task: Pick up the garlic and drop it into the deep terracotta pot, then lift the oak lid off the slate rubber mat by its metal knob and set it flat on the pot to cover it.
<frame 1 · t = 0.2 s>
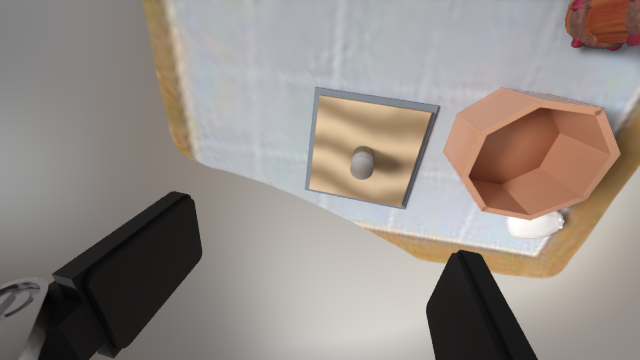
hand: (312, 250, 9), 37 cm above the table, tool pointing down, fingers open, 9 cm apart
mat: (363, 152, 45), on the table
bowl: (499, 141, 40), on the table
lid: (363, 153, 45), resting on mat
garlic: (528, 215, 45), on the table
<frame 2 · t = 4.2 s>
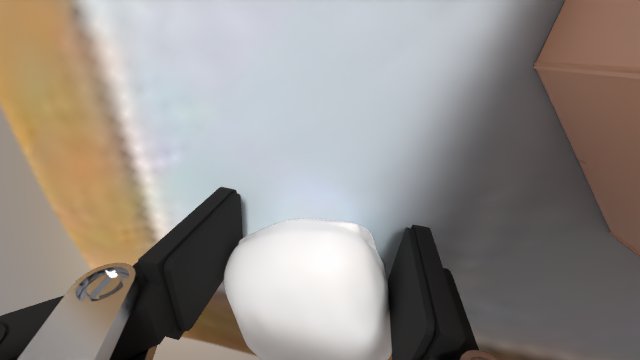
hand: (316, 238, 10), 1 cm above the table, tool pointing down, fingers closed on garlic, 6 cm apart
garlic: (323, 272, 12), on the table, touching gripper
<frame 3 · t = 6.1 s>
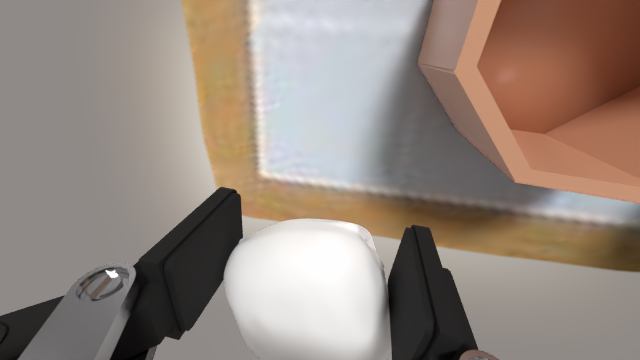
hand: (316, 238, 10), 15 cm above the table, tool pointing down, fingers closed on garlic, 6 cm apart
bowl: (545, 26, 17), on the table
garlic: (323, 272, 12), point 14 cm above the table, touching gripper
when the fingers open (11 cm above the table, at t = 8.2 s): garlic drops 4 cm, resting on bowl.
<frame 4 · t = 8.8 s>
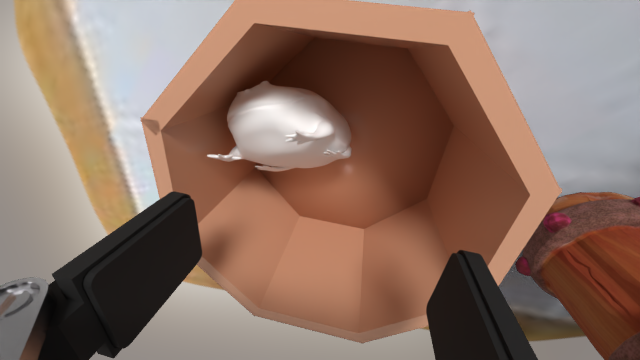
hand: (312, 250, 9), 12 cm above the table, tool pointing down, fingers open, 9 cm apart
bowl: (344, 145, 19), on the table
mug: (609, 214, 18), on the table
garlic: (291, 164, 15), point 6 cm above the table, touching bowl
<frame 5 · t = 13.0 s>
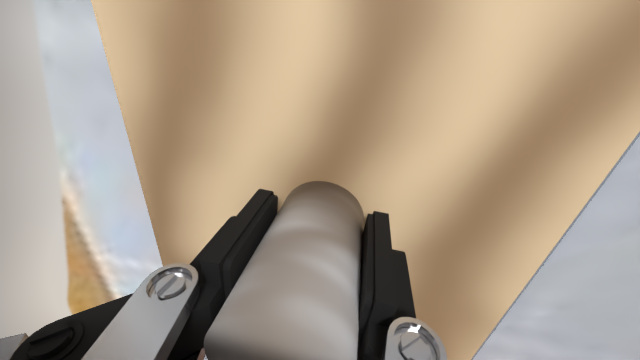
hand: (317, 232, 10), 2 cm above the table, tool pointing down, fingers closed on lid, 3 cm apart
mat: (327, 200, 12), on the table
lid: (326, 205, 12), resting on mat, touching gripper
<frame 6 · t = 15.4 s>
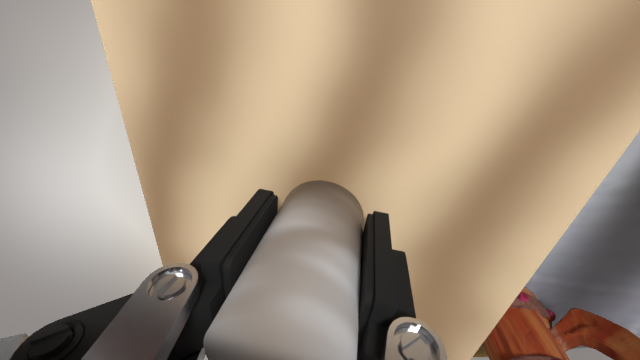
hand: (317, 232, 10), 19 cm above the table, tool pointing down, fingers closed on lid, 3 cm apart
lid: (326, 204, 12), point 17 cm above the table, touching gripper
mug: (515, 289, 33), on the table
when the fingers open (13 cm above the table, at t = 18.1 s): lid drops 1 cm, resting on bowl.
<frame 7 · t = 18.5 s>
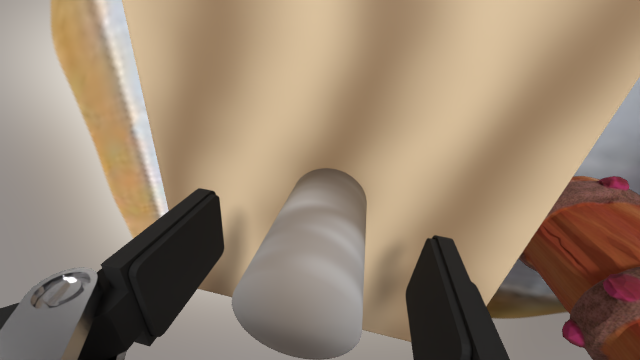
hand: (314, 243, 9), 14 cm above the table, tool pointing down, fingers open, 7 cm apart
lid: (331, 192, 13), point 10 cm above the table, touching bowl
mug: (583, 197, 20), on the table
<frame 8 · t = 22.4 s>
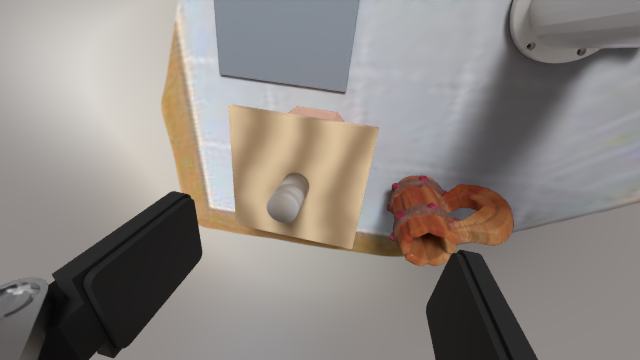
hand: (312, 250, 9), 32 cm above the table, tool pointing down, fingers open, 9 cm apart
mat: (283, 4, 33), on the table
bowl: (312, 155, 43), on the table
lid: (298, 181, 34), point 10 cm above the table, touching bowl
mug: (428, 185, 42), on the table
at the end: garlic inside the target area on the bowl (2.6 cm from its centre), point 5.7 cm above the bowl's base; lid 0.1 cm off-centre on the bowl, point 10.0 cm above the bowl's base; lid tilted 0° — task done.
